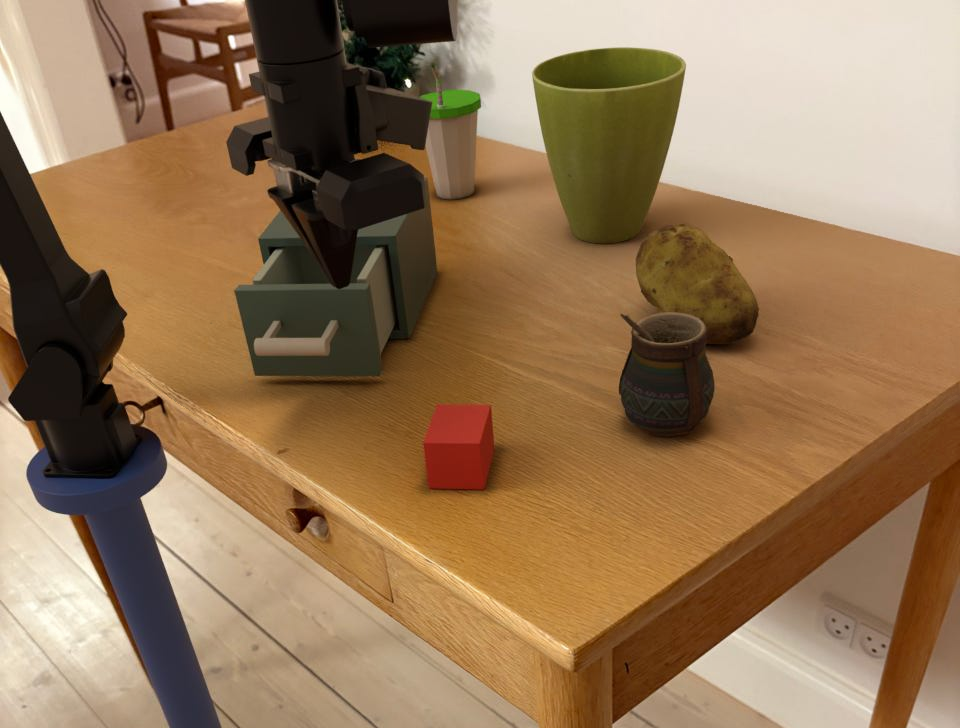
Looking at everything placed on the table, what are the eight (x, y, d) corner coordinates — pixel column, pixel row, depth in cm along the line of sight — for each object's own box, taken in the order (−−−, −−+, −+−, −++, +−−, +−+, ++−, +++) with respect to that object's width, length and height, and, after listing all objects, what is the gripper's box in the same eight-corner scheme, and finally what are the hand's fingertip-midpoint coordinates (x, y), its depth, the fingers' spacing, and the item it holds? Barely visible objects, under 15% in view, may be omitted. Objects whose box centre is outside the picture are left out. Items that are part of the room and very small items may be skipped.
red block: (484, 490, 77) (480, 443, 75) (428, 488, 78) (422, 442, 75) (494, 450, 81) (491, 404, 79) (442, 449, 82) (436, 403, 79)
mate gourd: (732, 425, 81) (744, 302, 74) (656, 459, 78) (662, 334, 72) (670, 391, 86) (677, 272, 79) (597, 421, 83) (597, 301, 76)
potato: (673, 366, 89) (678, 274, 84) (623, 306, 98) (625, 220, 93) (765, 349, 90) (775, 257, 85) (707, 291, 99) (713, 205, 94)
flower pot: (705, 236, 109) (717, 67, 99) (582, 271, 105) (580, 98, 95) (629, 196, 120) (632, 39, 109) (514, 226, 115) (505, 66, 105)
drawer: (367, 405, 86) (351, 315, 81) (236, 404, 88) (213, 316, 83) (411, 308, 100) (401, 226, 94) (297, 309, 102) (281, 228, 96)
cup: (455, 177, 129) (443, 41, 119) (501, 188, 125) (492, 48, 115) (409, 196, 125) (392, 57, 115) (455, 209, 121) (441, 65, 111)
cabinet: (409, 339, 97) (395, 235, 90) (279, 339, 99) (257, 238, 92) (437, 274, 107) (427, 177, 101) (320, 275, 110) (303, 181, 103)
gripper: (484, 48, 65) (501, 291, 75) (340, 10, 77) (372, 224, 87) (326, 89, 60) (367, 340, 71) (200, 42, 72) (251, 263, 83)
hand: (341, 286), depth 78 cm, fingers closed
